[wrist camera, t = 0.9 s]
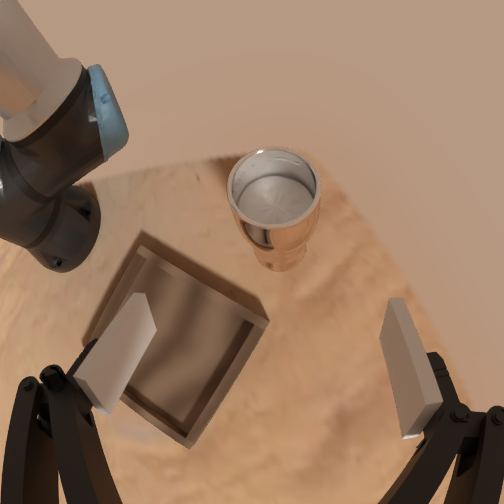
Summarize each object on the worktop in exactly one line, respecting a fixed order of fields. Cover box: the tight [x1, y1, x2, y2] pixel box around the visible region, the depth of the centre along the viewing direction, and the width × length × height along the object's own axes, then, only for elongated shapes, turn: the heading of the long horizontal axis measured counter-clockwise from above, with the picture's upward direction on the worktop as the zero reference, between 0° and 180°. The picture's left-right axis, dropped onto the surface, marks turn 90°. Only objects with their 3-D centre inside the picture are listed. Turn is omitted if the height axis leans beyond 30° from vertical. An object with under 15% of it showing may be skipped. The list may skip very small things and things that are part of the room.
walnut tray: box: [88, 245, 270, 449], centre depth 35 cm, size 20×20×2 cm
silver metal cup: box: [227, 146, 321, 272], centre depth 27 cm, size 7×7×15 cm
